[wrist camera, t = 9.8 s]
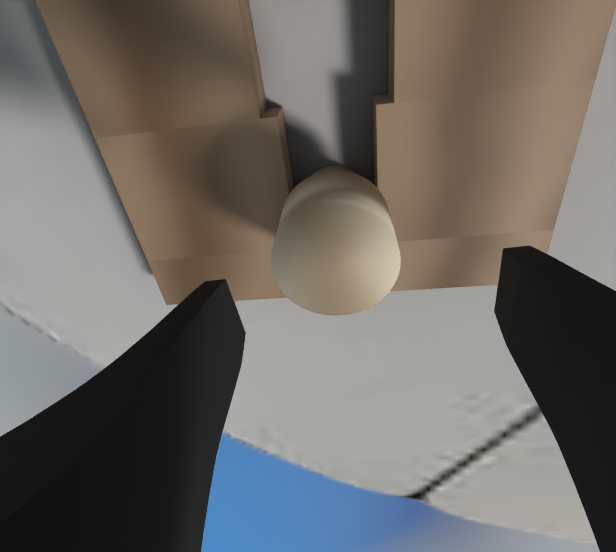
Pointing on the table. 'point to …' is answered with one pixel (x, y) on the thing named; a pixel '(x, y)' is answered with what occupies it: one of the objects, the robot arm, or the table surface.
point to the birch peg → (335, 244)
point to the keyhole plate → (386, 130)
